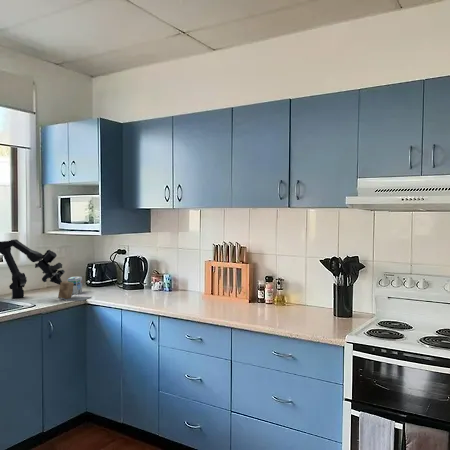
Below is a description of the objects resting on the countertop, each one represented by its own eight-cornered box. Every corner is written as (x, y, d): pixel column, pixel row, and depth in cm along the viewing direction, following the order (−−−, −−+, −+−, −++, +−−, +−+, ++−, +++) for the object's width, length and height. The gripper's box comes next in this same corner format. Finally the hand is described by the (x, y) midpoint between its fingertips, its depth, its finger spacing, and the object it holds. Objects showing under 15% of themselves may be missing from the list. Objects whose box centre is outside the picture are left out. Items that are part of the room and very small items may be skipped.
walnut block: (58, 297, 291) (60, 282, 290) (63, 295, 297) (65, 281, 296) (66, 299, 290) (69, 284, 289) (71, 297, 296) (73, 283, 295)
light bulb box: (77, 294, 309) (77, 278, 309) (67, 294, 309) (67, 278, 309) (82, 291, 320) (82, 276, 319) (73, 291, 320) (72, 276, 320)
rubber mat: (64, 300, 287) (64, 300, 287) (74, 297, 299) (74, 296, 299) (82, 301, 285) (82, 300, 285) (91, 297, 296) (91, 296, 296)
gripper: (45, 260, 285) (62, 278, 283) (61, 257, 303) (77, 274, 301) (34, 273, 286) (51, 290, 285) (51, 269, 305) (66, 285, 303)
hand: (62, 284), depth 293 cm, fingers closed
